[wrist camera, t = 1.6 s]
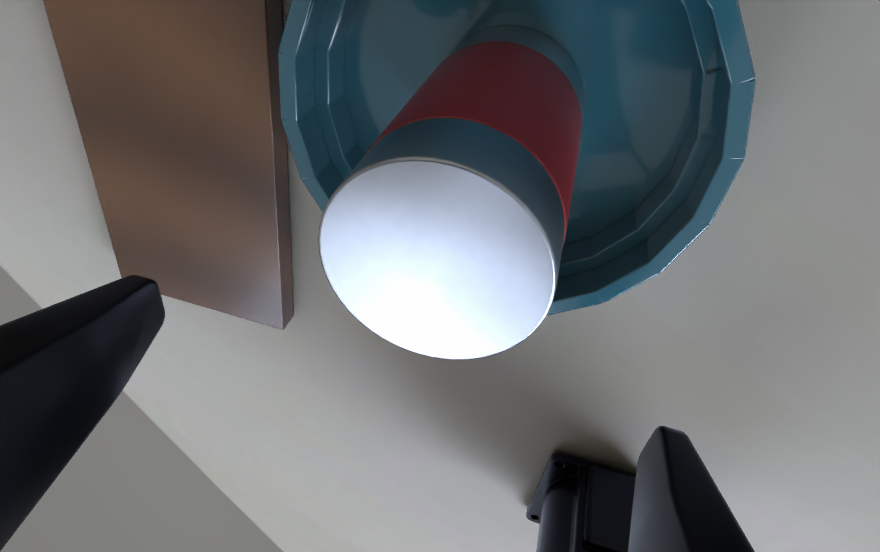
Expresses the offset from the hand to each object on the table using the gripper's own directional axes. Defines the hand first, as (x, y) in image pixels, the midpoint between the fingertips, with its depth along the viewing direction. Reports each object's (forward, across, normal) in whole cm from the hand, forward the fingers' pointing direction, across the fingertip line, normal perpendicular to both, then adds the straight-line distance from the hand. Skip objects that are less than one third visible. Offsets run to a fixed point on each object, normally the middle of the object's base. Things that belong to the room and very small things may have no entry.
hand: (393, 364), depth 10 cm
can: (+13, 0, 0) cm, 13 cm away
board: (+13, +13, +5) cm, 19 cm away
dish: (+13, 0, 0) cm, 13 cm away
